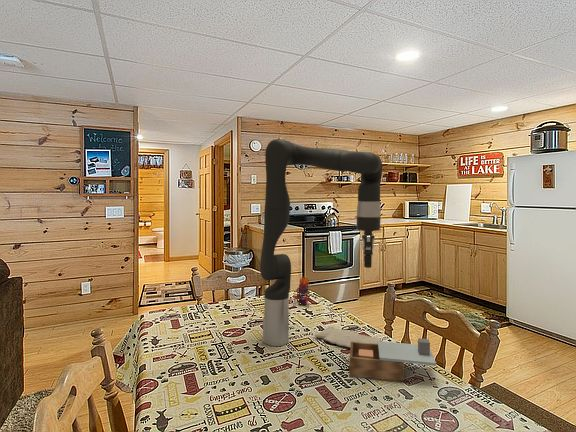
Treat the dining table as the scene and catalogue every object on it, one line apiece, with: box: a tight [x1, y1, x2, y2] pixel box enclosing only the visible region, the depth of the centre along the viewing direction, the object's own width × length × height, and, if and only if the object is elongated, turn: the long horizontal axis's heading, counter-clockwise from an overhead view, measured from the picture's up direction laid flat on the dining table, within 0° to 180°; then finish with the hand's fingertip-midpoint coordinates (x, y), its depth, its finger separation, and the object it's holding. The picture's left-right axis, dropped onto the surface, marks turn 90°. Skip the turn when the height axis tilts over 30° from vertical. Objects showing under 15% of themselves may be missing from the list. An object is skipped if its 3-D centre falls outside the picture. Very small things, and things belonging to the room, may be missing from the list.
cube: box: [359, 349, 373, 359], centre depth 112 cm, size 4×4×4 cm
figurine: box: [291, 275, 311, 307], centre depth 175 cm, size 8×9×15 cm
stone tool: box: [314, 326, 382, 348], centre depth 132 cm, size 13×4×25 cm
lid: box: [378, 337, 437, 366], centre depth 109 cm, size 16×12×5 cm
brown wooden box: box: [348, 342, 405, 383], centre depth 112 cm, size 16×12×6 cm
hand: (367, 264), depth 114 cm, fingers open, 8 cm apart
